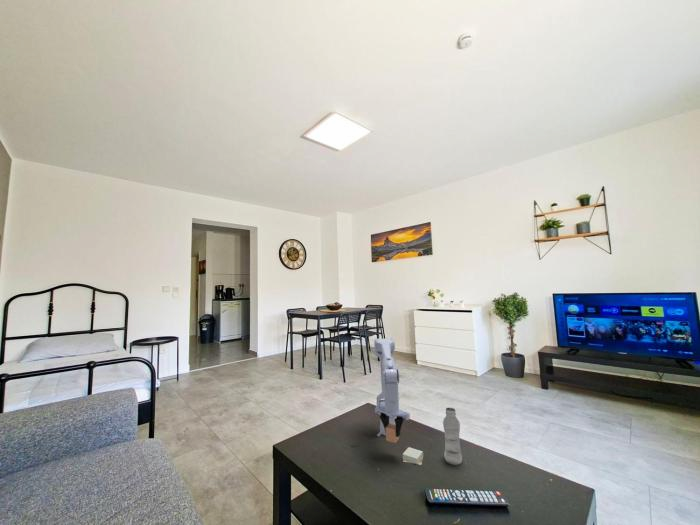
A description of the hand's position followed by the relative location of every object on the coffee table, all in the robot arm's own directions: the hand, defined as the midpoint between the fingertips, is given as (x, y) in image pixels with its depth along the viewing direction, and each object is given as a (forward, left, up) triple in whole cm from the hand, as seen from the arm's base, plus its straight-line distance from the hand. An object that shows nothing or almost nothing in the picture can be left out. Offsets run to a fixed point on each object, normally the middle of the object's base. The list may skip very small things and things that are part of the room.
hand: (392, 434), depth 112 cm
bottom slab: (-2, +7, -10) cm, 13 cm away
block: (0, 0, -2) cm, 2 cm away
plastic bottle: (-8, +21, -10) cm, 25 cm away
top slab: (-2, +7, -8) cm, 11 cm away
